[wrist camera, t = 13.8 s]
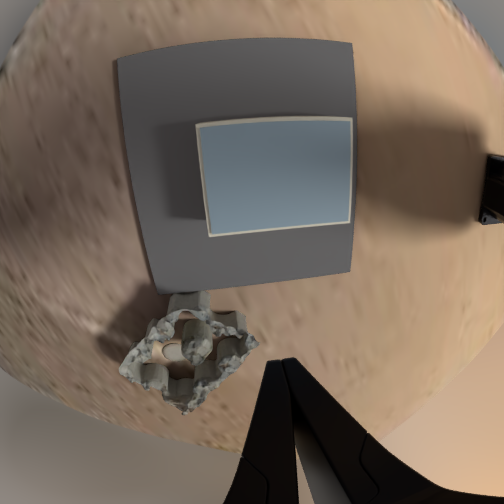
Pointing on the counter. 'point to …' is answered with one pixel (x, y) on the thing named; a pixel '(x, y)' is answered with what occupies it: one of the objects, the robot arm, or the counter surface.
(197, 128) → the card box
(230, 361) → the egg carton
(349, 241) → the mat
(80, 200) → the counter surface
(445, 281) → the counter surface
